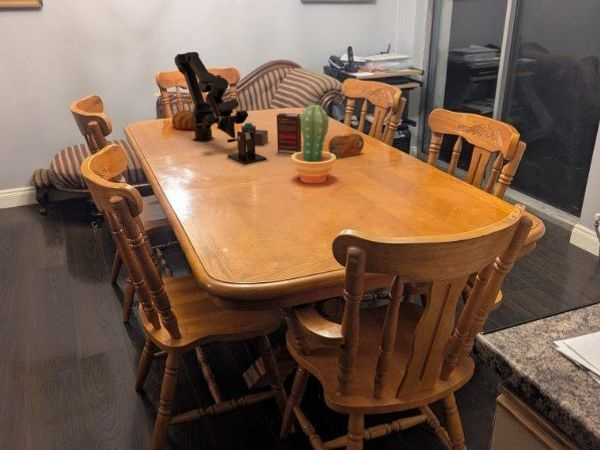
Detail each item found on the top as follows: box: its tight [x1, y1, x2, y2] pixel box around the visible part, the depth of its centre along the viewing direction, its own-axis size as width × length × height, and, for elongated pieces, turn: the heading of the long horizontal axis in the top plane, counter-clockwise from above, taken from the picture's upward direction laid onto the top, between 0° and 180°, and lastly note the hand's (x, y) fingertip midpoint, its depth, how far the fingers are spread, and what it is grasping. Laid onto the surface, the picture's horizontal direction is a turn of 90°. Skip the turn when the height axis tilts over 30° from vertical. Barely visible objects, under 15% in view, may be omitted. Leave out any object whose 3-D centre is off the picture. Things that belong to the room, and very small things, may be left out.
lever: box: [226, 132, 251, 143], centre depth 202 cm, size 11×6×2 cm, turn 39°
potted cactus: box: [290, 104, 337, 184], centre depth 176 cm, size 15×15×25 cm
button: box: [244, 122, 253, 128], centre depth 221 cm, size 3×3×2 cm
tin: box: [327, 133, 365, 159], centre depth 205 cm, size 15×3×8 cm, turn 118°
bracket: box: [227, 130, 268, 166], centre depth 200 cm, size 12×10×11 cm
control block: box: [240, 124, 269, 147], centre depth 222 cm, size 10×7×7 cm
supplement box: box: [276, 112, 302, 157], centre depth 205 cm, size 9×5×16 cm, turn 71°
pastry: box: [171, 109, 195, 130], centre depth 249 cm, size 21×13×8 cm, turn 33°
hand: (234, 137), depth 206 cm, fingers closed
